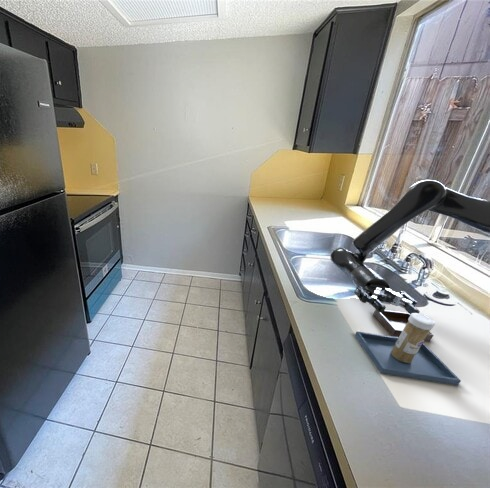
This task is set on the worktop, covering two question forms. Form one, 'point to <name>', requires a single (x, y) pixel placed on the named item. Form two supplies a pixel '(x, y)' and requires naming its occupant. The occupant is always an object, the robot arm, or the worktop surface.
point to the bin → (395, 322)
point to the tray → (420, 367)
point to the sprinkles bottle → (412, 337)
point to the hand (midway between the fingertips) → (399, 312)
